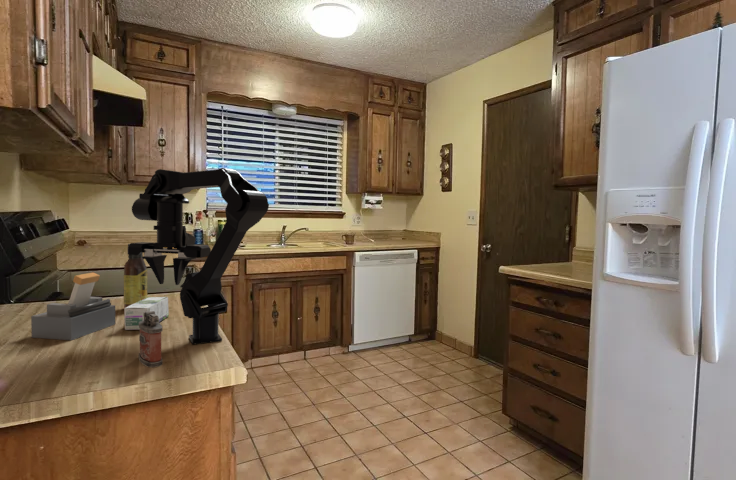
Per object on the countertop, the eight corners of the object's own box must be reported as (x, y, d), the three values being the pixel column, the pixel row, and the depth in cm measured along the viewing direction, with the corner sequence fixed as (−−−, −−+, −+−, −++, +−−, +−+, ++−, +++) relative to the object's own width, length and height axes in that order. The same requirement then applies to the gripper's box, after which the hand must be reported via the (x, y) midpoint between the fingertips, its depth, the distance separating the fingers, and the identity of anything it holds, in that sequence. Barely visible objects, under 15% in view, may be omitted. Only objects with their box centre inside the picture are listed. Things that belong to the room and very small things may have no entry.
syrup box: (148, 316, 116) (124, 331, 102) (147, 296, 115) (123, 308, 101) (169, 316, 117) (148, 330, 102) (168, 295, 116) (147, 307, 102)
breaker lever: (88, 309, 103) (100, 275, 102) (70, 314, 98) (82, 278, 97) (81, 305, 103) (93, 272, 102) (63, 311, 98) (74, 275, 97)
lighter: (135, 357, 84) (135, 309, 83) (152, 353, 86) (153, 307, 86) (147, 368, 78) (147, 317, 78) (166, 364, 81) (166, 314, 80)
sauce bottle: (146, 310, 123) (146, 244, 122) (122, 311, 120) (122, 244, 119) (147, 305, 129) (148, 242, 128) (124, 306, 126) (124, 242, 125)
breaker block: (115, 324, 107) (115, 296, 107) (71, 340, 93) (71, 308, 93) (80, 321, 108) (79, 294, 108) (31, 337, 94) (31, 305, 94)
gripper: (221, 222, 108) (220, 281, 109) (154, 220, 109) (154, 277, 110) (199, 223, 97) (198, 288, 97) (125, 220, 98) (125, 284, 99)
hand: (169, 284), depth 101 cm, fingers open, 4 cm apart
